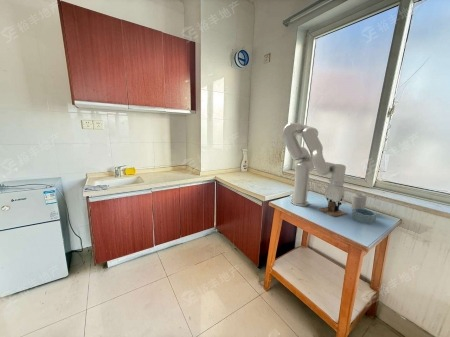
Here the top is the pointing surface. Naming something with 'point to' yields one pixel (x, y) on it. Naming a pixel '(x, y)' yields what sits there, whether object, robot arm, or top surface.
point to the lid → (332, 210)
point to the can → (359, 201)
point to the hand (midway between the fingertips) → (333, 209)
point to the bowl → (364, 215)
